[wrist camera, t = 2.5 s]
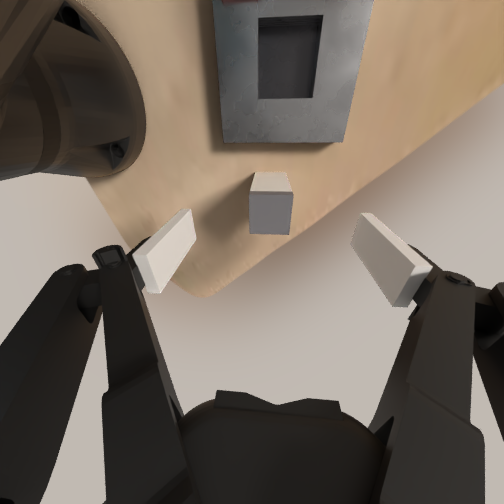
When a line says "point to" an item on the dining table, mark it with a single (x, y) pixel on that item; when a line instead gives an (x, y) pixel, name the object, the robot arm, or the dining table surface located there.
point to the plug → (270, 203)
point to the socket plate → (288, 67)
